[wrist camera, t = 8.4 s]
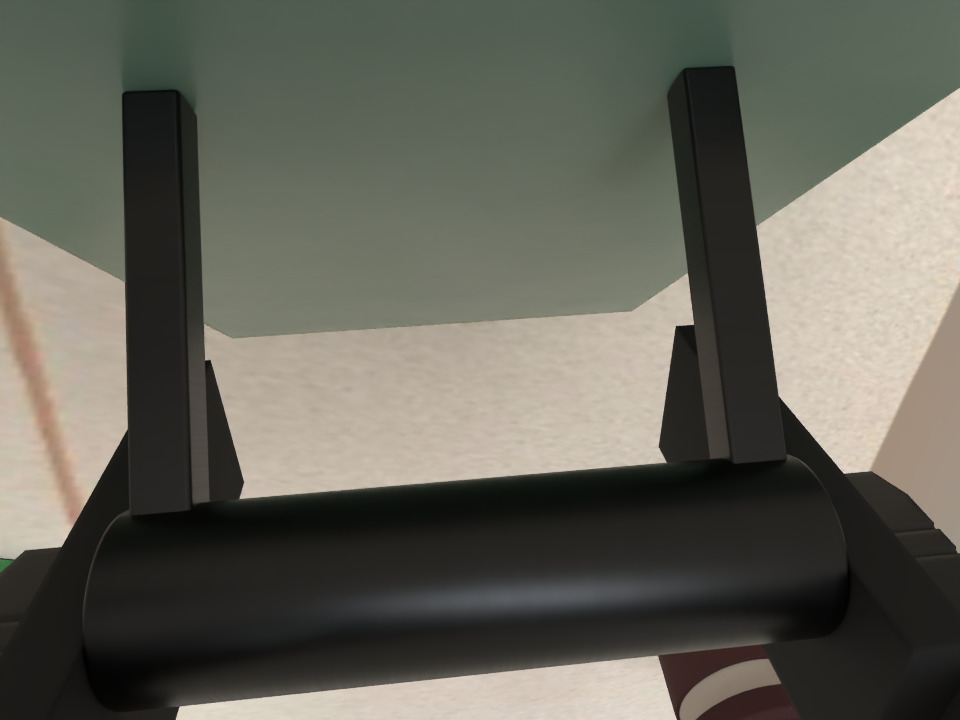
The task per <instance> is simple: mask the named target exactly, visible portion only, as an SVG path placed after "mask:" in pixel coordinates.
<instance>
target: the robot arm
mask: <svg viewBox="0 0 960 720" xmlns="http://www.w3.org/2000/svg"><path fill="white" fill-rule="evenodd" d="M205 378H206V409H207V440H208V470H209V501H210V502H212V501H224V500H236V499H239V498H240V495H241V491H242V488H243V484H244V480H243V477H242V473H241V470H240V466H239V462H238V459H237V455H236V451H235V448H234V444H233V440H232V437H231V433H230V429H229V426H228V422H227V418H226V415H225V411H224V407H223V404H222V400H221V396H220V393H219V389H218V385H217V382H216V378H215V375H214V371H213V367H212V364H211V360H206V361H205ZM779 403H780V411H781V418H782V426H783V433H784V441H785V449H786V454H788V455H791V456H793V457H796V458H797V459H799V460H801V461H802V462H803V463H805V464H806V465H807V466H808V467H809V468H810V469H811V470H812V471H813V472H814V473H815V475H816V476H817V477H818V479H819V480H820V481H821V483H822V484H823V486H824V488H825V489H826V491H827V493H828V495H829V497H830V499H831V501H832V503H833V505H834V507H835V510H836V512H837V515H838V517H839V521H840V524H841V527H842V530H843V534H844V538H845V542H846V547H847V552H848V559H849V569H850V589H849V598H848V604H847V608H846V612H845V615H844V617H843V619H842V621H841V623H840V624H839V626H838V627H837V629H835V630H834V631H833V632H832V633H831V634H829V635H827V636H825V637H823V638H816V639H807V640H797V641H788V642H779V643H769V644H761V645H762V647H763V649H764V651H765V653H766V655H767V657H768V659H769V661H770V663H771V665H772V667H773V669H774V671H775V673H776V674H777V676H778V678H779V680H780V682H781V684H782V686H783V688H784V690H785V692H786V694H787V696H788V698H789V700H790V702H791V703H792V705H793V707H794V709H795V711H796V713H797V715H798V717H799V719H800V720H960V553H959V554H958V553H957V551H956V546H955V545H954V544H953V543H952V542H951V541H950V540H949V539H948V538H947V536H946V535H945V534H944V533H943V532H942V531H941V530H940V529H935V527H934V522H933V521H932V520H931V519H930V518H929V517H928V516H927V515H926V514H925V513H924V512H923V511H922V510H921V508H920V507H919V506H918V505H917V504H916V503H915V502H914V501H913V500H912V499H911V498H910V496H908V494H906V493H905V492H903V491H901V490H900V489H898V488H897V487H895V486H894V485H892V484H890V483H889V482H887V481H886V480H884V479H883V478H881V477H880V476H878V475H876V474H875V473H873V472H871V471H870V472H859V473H848V474H844V473H843V472H842V471H841V470H840V469H839V468H838V466H837V465H836V464H835V463H834V462H833V460H832V459H831V458H830V457H829V456H828V454H827V453H826V452H825V451H824V450H823V448H822V447H821V446H820V445H819V444H818V443H817V441H816V440H815V439H814V438H813V437H812V435H811V434H810V433H809V432H808V431H807V429H806V428H805V427H804V426H803V425H802V423H801V422H800V421H799V420H798V419H797V418H796V416H795V415H794V414H793V413H792V412H791V410H790V409H789V408H788V407H787V406H786V404H785V403H784V402H783V401H782V400H781V398H780V397H779ZM659 448H660V450H661V452H662V454H663V456H664V458H665V460H666V462H667V463H670V462H682V461H694V460H705V459H710V452H709V444H708V436H707V427H706V419H705V411H704V402H703V394H702V385H701V377H700V369H699V360H698V352H697V344H696V335H695V327H694V325H686V326H676V329H675V336H674V343H673V350H672V357H671V364H670V371H669V378H668V385H667V392H666V399H665V407H664V414H663V421H662V428H661V435H660V442H659ZM127 510H129V458H128V430H127V431H126V433H125V435H124V437H123V439H122V440H121V442H120V444H119V446H118V447H117V449H116V451H115V453H114V455H113V456H112V458H111V460H110V462H109V464H108V465H107V467H106V469H105V471H104V472H103V474H102V476H101V478H100V480H99V481H98V483H97V485H96V487H95V489H94V490H93V492H92V494H91V496H90V497H89V499H88V501H87V503H86V505H85V506H84V508H83V510H82V512H81V514H80V515H79V517H78V519H77V521H76V522H75V524H74V526H73V528H72V530H71V531H70V533H69V535H68V537H67V539H66V540H65V542H64V544H63V546H62V547H59V548H48V549H37V550H26V551H24V552H23V553H22V554H21V555H20V556H19V557H17V558H16V559H15V560H14V561H13V562H12V563H11V564H10V565H9V566H7V567H6V568H5V569H4V570H3V571H2V572H1V573H0V720H176V717H177V713H178V710H179V706H178V707H168V708H159V709H150V710H140V711H131V712H120V713H119V712H116V711H112V710H110V709H108V708H107V707H105V706H104V705H103V704H102V703H101V702H100V701H99V700H98V698H97V696H96V695H95V693H94V691H93V689H92V686H91V684H90V681H89V678H88V674H87V670H86V665H85V660H84V652H83V639H82V616H83V604H84V596H85V589H86V584H87V579H88V574H89V570H90V567H91V563H92V560H93V557H94V554H95V551H96V549H97V546H98V544H99V542H100V540H101V538H102V536H103V534H104V532H105V531H106V529H107V528H108V526H109V525H110V524H111V522H112V521H113V520H114V519H115V518H116V517H117V516H118V515H120V514H121V513H123V512H125V511H127Z"/></svg>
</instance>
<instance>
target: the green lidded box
mask: <svg viewBox="0 0 960 720" xmlns="http://www.w3.org/2000/svg"><path fill="white" fill-rule="evenodd" d="M958 88H960V0H0V217H2V218H4V219H6V220H8V221H10V222H11V223H13V224H15V225H17V226H19V227H21V228H23V229H25V230H27V231H29V232H30V233H32V234H34V235H36V236H38V237H40V238H42V239H44V240H46V241H48V242H50V243H51V244H53V245H55V246H57V247H59V248H61V249H63V250H65V251H67V252H69V253H71V254H72V255H74V256H76V257H78V258H80V259H82V260H84V261H86V262H88V263H90V264H92V265H93V266H95V267H97V268H99V269H101V270H103V271H105V272H107V273H109V274H111V275H113V276H114V277H116V278H118V279H120V280H122V281H124V282H125V299H126V352H127V405H128V458H129V510H127V511H125V512H123V513H121V514H120V515H118V516H117V517H116V518H115V519H114V520H113V521H112V522H111V524H110V525H109V526H108V528H107V529H106V531H105V532H104V534H103V536H102V538H101V540H100V542H99V544H98V546H97V549H96V551H95V554H94V557H93V560H92V563H91V567H90V570H89V574H88V579H87V584H86V589H85V596H84V604H83V616H82V639H83V652H84V660H85V665H86V670H87V674H88V678H89V681H90V684H91V686H92V689H93V691H94V693H95V695H96V696H97V698H98V700H99V701H100V702H101V703H102V704H103V705H104V706H105V707H107V708H108V709H110V710H112V711H116V712H119V713H120V712H131V711H140V710H150V709H159V708H168V707H178V706H187V705H197V704H206V703H215V702H225V701H234V700H244V699H253V698H262V697H272V696H281V695H290V694H300V693H309V692H319V691H328V690H337V689H347V688H356V687H366V686H375V685H384V684H394V683H403V682H413V681H422V680H431V679H441V678H450V677H459V676H469V675H478V674H488V673H497V672H506V671H516V670H525V669H535V668H544V667H553V666H563V665H572V664H581V663H591V662H600V661H610V660H619V659H628V658H638V657H647V656H657V655H666V654H675V653H685V652H694V651H704V650H713V649H722V648H732V647H741V646H750V645H760V644H769V643H779V642H788V641H797V640H807V639H816V638H823V637H825V636H827V635H829V634H831V633H832V632H833V631H834V630H835V629H837V627H838V626H839V624H840V623H841V621H842V619H843V617H844V615H845V612H846V608H847V604H848V598H849V589H850V569H849V559H848V552H847V547H846V542H845V538H844V534H843V530H842V527H841V524H840V521H839V517H838V515H837V512H836V510H835V507H834V505H833V503H832V501H831V499H830V497H829V495H828V493H827V491H826V489H825V488H824V486H823V484H822V483H821V481H820V480H819V479H818V477H817V476H816V475H815V473H814V472H813V471H812V470H811V469H810V468H809V467H808V466H807V465H806V464H805V463H803V462H802V461H801V460H799V459H797V458H796V457H793V456H791V455H788V454H786V449H785V441H784V433H783V426H782V418H781V411H780V403H779V396H778V388H777V381H776V373H775V366H774V358H773V351H772V343H771V335H770V328H769V320H768V313H767V305H766V298H765V290H764V283H763V275H762V268H761V260H760V253H759V245H758V237H757V230H756V226H757V225H759V224H760V223H762V222H763V221H765V220H766V219H768V218H769V217H770V216H772V215H773V214H775V213H776V212H778V211H779V210H781V209H782V208H784V207H785V206H787V205H788V204H790V203H791V202H793V201H794V200H795V199H797V198H798V197H800V196H801V195H803V194H804V193H806V192H807V191H809V190H810V189H812V188H813V187H815V186H816V185H817V184H819V183H820V182H822V181H823V180H825V179H826V178H828V177H829V176H831V175H832V174H834V173H835V172H837V171H838V170H839V169H841V168H842V167H844V166H845V165H847V164H848V163H850V162H851V161H853V160H854V159H856V158H857V157H859V156H860V155H861V154H863V153H864V152H866V151H867V150H869V149H870V148H872V147H873V146H875V145H876V144H878V143H879V142H881V141H882V140H883V139H885V138H886V137H888V136H889V135H891V134H892V133H894V132H895V131H897V130H898V129H900V128H901V127H903V126H904V125H905V124H907V123H908V122H910V121H911V120H913V119H914V118H916V117H917V116H919V115H920V114H922V113H923V112H925V111H926V110H928V109H929V108H930V107H932V106H933V105H935V104H936V103H938V102H939V101H941V100H942V99H944V98H945V97H947V96H948V95H950V94H951V93H952V92H954V91H955V90H957V89H958ZM687 273H688V277H689V285H690V293H691V302H692V310H693V318H694V327H695V335H696V344H697V352H698V360H699V369H700V377H701V385H702V394H703V402H704V411H705V419H706V427H707V436H708V444H709V452H710V459H705V460H694V461H682V462H670V463H658V464H647V465H635V466H623V467H611V468H600V469H588V470H576V471H564V472H553V473H541V474H529V475H517V476H506V477H494V478H482V479H470V480H459V481H447V482H435V483H424V484H412V485H400V486H388V487H377V488H365V489H353V490H341V491H330V492H318V493H306V494H294V495H283V496H271V497H259V498H247V499H236V500H224V501H212V502H210V501H209V470H208V440H207V409H206V378H205V348H204V324H206V325H208V326H210V327H212V328H214V329H216V330H217V331H219V332H221V333H223V334H225V335H227V336H229V337H231V338H244V337H258V336H273V335H288V334H303V333H317V332H332V331H347V330H361V329H376V328H391V327H406V326H420V325H435V324H450V323H465V322H479V321H494V320H509V319H523V318H538V317H553V316H568V315H582V314H597V313H612V312H627V311H633V310H634V309H636V308H637V307H638V306H640V305H641V304H643V303H644V302H646V301H647V300H649V299H650V298H652V297H653V296H655V295H656V294H658V293H659V292H660V291H662V290H663V289H665V288H666V287H668V286H669V285H671V284H672V283H674V282H675V281H677V280H678V279H680V278H681V277H682V276H684V275H685V274H687Z"/></svg>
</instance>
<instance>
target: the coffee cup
mask: <svg viewBox="0 0 960 720" xmlns="http://www.w3.org/2000/svg"><path fill="white" fill-rule="evenodd" d="M658 657H659V660H660V664H661V667H662V671H663V674H664V678H665V681H666V685H667V688H668V691H669V695H670V698H671V702H672V705H673V709H674V712H675V716H676V718H677V720H800V719H799V717H798V715H797V713H796V711H795V709H794V707H793V705H792V703H791V702H790V700H789V698H788V696H787V694H786V692H785V690H784V688H783V686H782V684H781V682H780V680H779V678H778V676H777V674H776V673H775V671H774V669H773V667H772V665H771V663H770V661H769V659H768V657H767V655H766V653H765V651H764V649H763V647H762V645H761V644H760V645H750V646H741V647H732V648H722V649H713V650H704V651H694V652H685V653H675V654H666V655H658Z"/></svg>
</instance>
